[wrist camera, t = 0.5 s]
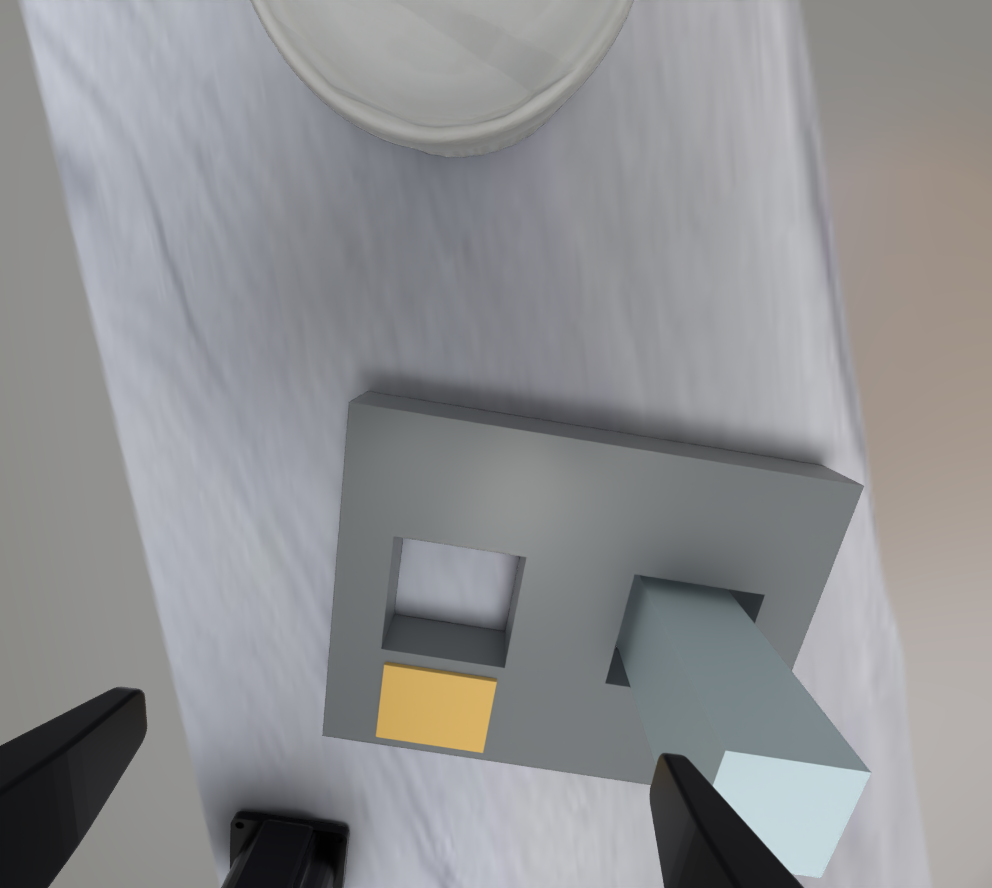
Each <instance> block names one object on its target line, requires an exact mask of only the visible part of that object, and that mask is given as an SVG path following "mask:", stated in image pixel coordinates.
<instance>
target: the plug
mask: <svg viewBox="0 0 992 888" xmlns="http://www.w3.org/2000/svg"><path fill="white" fill-rule="evenodd" d="M616 643H617V646H618V650H619V653H620V656H621V659H622V662H623V665H624V668H625V671H626V674H627V677H628V680H629V684H630V687H631V690H632V693H633V696H634V699H635V702H636V705H637V708H638V711H639V714H640V718H641V721H642V724H643V727H644V730H645V733H646V736H647V739H648V742H649V745H650V748H651V752H652V755H653V758H654V761H655V764H656V765H657V761H658V758H659V756H660V755H661V754H662V753H672V754H680V755H684V756H685V757H687V758H688V759H689V760H690V761H691V762H692V763H693V765H694V766H695V767H696V768H697V769H698V770H699V771H700V772H701V773H702V775H703V776H704V777H705V778H706V779H707V780H708V781H709V782H710V783H711V785H712V786H713V787H714V788H715V789H716V790H717V791H718V792H719V794H720V795H721V796H722V797H723V798H724V799H725V800H726V801H727V802H728V804H729V805H730V806H731V807H732V808H733V809H734V810H735V811H736V812H737V814H738V815H739V816H740V817H741V818H742V819H743V820H744V821H745V822H746V824H747V825H748V826H749V827H750V828H751V829H752V830H753V831H754V833H755V834H756V835H757V836H758V837H759V838H760V839H761V840H762V841H763V843H764V844H765V845H766V846H767V847H768V848H769V849H770V850H771V851H772V853H773V854H774V855H775V856H776V857H777V858H778V859H779V860H780V861H781V863H782V864H783V865H784V866H785V867H786V868H787V869H788V870H789V872H790V873H791V874H796V875H803V876H810V877H816V878H821V876H822V874H823V872H824V870H825V868H826V866H827V864H828V862H829V860H830V858H831V856H832V853H833V851H834V849H835V847H836V845H837V843H838V841H839V839H840V837H841V835H842V833H843V830H844V828H845V826H846V824H847V822H848V820H849V818H850V816H851V814H852V812H853V810H854V807H855V805H856V803H857V801H858V799H859V797H860V795H861V793H862V791H863V789H864V786H865V784H866V782H867V780H868V778H869V776H870V774H871V772H870V770H869V769H868V768H867V767H866V765H865V764H864V763H863V762H862V760H861V759H860V758H859V756H858V755H857V754H856V753H855V751H854V750H853V749H852V748H851V746H850V745H849V744H848V742H847V741H846V740H845V739H844V737H843V736H842V735H841V733H840V732H839V731H838V730H837V728H836V727H835V726H834V725H833V723H832V722H831V721H830V719H829V718H828V717H827V716H826V714H825V713H824V712H823V710H822V709H821V708H820V707H819V705H818V704H817V703H816V702H815V700H814V699H813V698H812V696H811V695H810V694H809V693H808V691H807V690H806V689H805V688H804V686H803V685H802V684H801V682H800V681H799V680H798V679H797V677H796V676H795V675H794V673H793V672H792V671H791V670H790V668H789V667H788V666H787V665H786V663H785V662H784V661H783V659H782V658H781V657H780V656H779V654H778V653H777V652H776V650H775V649H774V648H773V647H772V645H771V644H770V643H769V642H768V640H767V639H766V638H765V636H764V635H763V634H762V633H761V631H760V630H759V629H758V627H757V626H756V625H755V624H754V622H753V621H752V620H751V619H750V617H749V616H748V615H747V613H746V612H745V611H744V610H743V608H742V607H741V606H740V605H739V603H738V602H737V601H736V599H735V598H734V597H733V596H732V594H731V593H730V592H729V590H728V589H724V588H718V587H712V586H705V585H699V584H693V583H686V582H680V581H674V580H667V579H661V578H655V577H648V576H642V575H636V574H634V578H633V582H632V585H631V589H630V593H629V597H628V600H627V604H626V608H625V611H624V615H623V619H622V623H621V626H620V630H619V634H618V638H617V641H616Z"/></svg>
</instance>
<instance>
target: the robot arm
mask: <svg viewBox="0 0 992 888" xmlns="http://www.w3.org/2000/svg"><path fill="white" fill-rule="evenodd" d="M146 731H147V717H146V704H145V694H144V692H143V691H142V690H140V689H136V688H128V687H116V688H113V689H111V690H109V691H107V692H105V693H103V694H101V695H99V696H97V697H95V698H93V699H91V700H89V701H87V702H85V703H83V704H81V705H79V706H77V707H76V708H74V709H71V710H70V711H68V712H66V713H64V714H62V715H60V716H58V717H56V718H54V719H52V720H50V721H48V722H46V723H44V724H42V725H40V726H38V727H36V728H34V729H33V730H30V731H28V732H26V733H24V734H22V735H20V736H18V737H17V738H15V739H13V740H11V741H9V742H7V743H5V744H3V745H1V746H0V888H48V887H49V886H50V884H51V883H52V882H53V880H54V879H55V877H56V876H57V875H58V873H59V872H60V871H61V869H62V868H63V866H64V865H65V864H66V862H67V861H68V860H69V858H70V857H71V855H72V854H73V852H74V851H75V850H76V848H77V847H78V845H79V844H80V842H81V841H82V839H83V838H84V836H85V835H86V833H87V831H88V830H89V828H90V827H91V825H92V824H93V822H94V820H95V819H96V817H97V815H98V814H99V812H100V811H101V809H102V807H103V806H104V804H105V802H106V801H107V799H108V798H109V796H110V794H111V793H112V791H113V789H114V788H115V786H116V785H117V783H118V781H119V780H120V778H121V776H122V775H123V773H124V772H125V770H126V768H127V767H128V765H129V763H130V762H131V760H132V759H133V757H134V755H135V754H136V752H137V750H138V749H139V747H140V746H141V744H142V742H143V740H144V738H145V734H146ZM650 806H651V812H652V818H653V824H654V830H655V836H656V841H657V847H658V853H659V859H660V865H661V871H662V877H663V883H664V888H804V887H803V886H802V885H801V884H800V883H799V882H798V880H797V879H796V878H795V877H794V876H793V875H792V874H791V873H790V872H789V870H788V869H787V868H786V867H785V866H784V865H783V864H782V863H781V861H780V860H779V859H778V858H777V857H776V856H775V855H774V854H773V853H772V851H771V850H770V849H769V848H768V847H767V846H766V845H765V844H764V843H763V841H762V840H761V839H760V838H759V837H758V836H757V835H756V834H755V833H754V831H753V830H752V829H751V828H750V827H749V826H748V825H747V824H746V822H745V821H744V820H743V819H742V818H741V817H740V816H739V815H738V814H737V812H736V811H735V810H734V809H733V808H732V807H731V806H730V805H729V804H728V802H727V801H726V800H725V799H724V798H723V797H722V796H721V795H720V794H719V792H718V791H717V790H716V789H715V788H714V787H713V786H712V785H711V783H710V782H709V781H708V780H707V779H706V778H705V777H704V776H703V775H702V773H701V772H700V771H699V770H698V769H697V768H696V767H695V766H694V765H693V763H692V762H691V761H690V760H689V759H688V758H687V757H685V756H684V755H680V754H672V753H662V754H661V755H660V756H659V758H658V761H657V765H656V768H655V772H654V776H653V779H652V783H651V787H650ZM348 843H349V830H348V829H347V828H346V827H344V826H339V825H332V824H326V823H319V822H312V821H305V820H298V819H292V818H285V817H278V816H271V815H264V814H257V813H251V812H244V811H240V812H237V813H236V814H235V816H234V818H233V820H232V822H231V838H230V871H229V873H228V875H227V877H226V879H225V881H224V883H223V885H222V887H221V888H344V880H345V871H346V861H347V852H348Z"/></svg>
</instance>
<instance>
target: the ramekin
mask: <svg viewBox="0 0 992 888" xmlns="http://www.w3.org/2000/svg"><path fill="white" fill-rule="evenodd" d="M250 1H251V3H252V5H253V7H254V9H255V11H256V13H257V15H258V17H259V19H260V21H261V23H262V25H263V27H264V28H265V30H266V32H267V34H268V35H269V37H270V39H271V40H272V42H273V43H274V45H275V46H276V48H277V49H278V51H279V52H280V54H281V55H282V56H283V58H284V59H285V60H286V62H287V63H288V64H289V66H290V67H291V68H292V70H293V71H294V72H295V73H296V75H297V76H298V77H299V78H300V79H301V80H302V81H303V82H304V83H305V85H306V86H307V87H308V88H309V89H310V90H311V91H312V92H313V93H314V94H316V95H317V96H318V97H319V98H320V99H321V100H322V101H323V102H324V103H325V104H326V105H328V106H329V107H330V108H331V109H333V110H334V111H335V112H336V113H338V114H339V115H340V116H342V117H343V118H344V119H346V120H348V121H349V122H351V123H352V124H354V125H355V126H357V127H359V128H361V129H362V130H364V131H366V132H368V133H370V134H372V135H374V136H376V137H378V138H381V139H383V140H385V141H388V142H391V143H394V144H397V145H401V146H405V147H409V148H413V149H416V150H422V151H423V152H425V153H427V154H431V155H441V156H444V157H463V158H464V157H469V156H472V155H484V154H487V153H490V152H494V151H500V150H502V149H504V148H506V147H509V146H513V145H515V144H517V143H518V142H519V141H520V140H522V139H523V138H526V137H528V136H530V135H532V134H533V133H534V132H535V131H536V130H537V129H538V128H539V127H540V126H542V125H544V124H545V123H546V122H547V121H548V120H549V119H550V117H551V116H552V115H553V114H554V113H555V112H556V111H557V110H559V109H560V107H561V106H562V105H563V103H565V102H566V101H567V100H568V99H569V98H570V97H571V96H572V95H573V94H574V93H575V92H576V91H577V90H578V89H579V88H580V87H581V86H582V85H583V84H584V82H585V81H586V80H587V79H588V78H589V76H590V75H591V74H592V73H593V71H594V70H595V69H596V68H597V66H598V65H599V64H600V62H601V61H602V60H603V58H604V57H605V55H606V54H607V52H608V50H609V49H610V47H611V46H612V44H613V43H614V41H615V39H616V37H617V36H618V34H619V32H620V30H621V28H622V26H623V24H624V22H625V20H626V18H627V16H628V14H629V11H630V9H631V7H632V4H633V2H634V0H250Z"/></svg>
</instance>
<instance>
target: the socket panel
mask: <svg viewBox="0 0 992 888" xmlns="http://www.w3.org/2000/svg"><path fill="white" fill-rule="evenodd" d="M863 487H864V486H863V485H861V484H859V483H857V482H855V481H853V480H851V479H849V478H847V477H845V476H843V475H841V474H839V473H837V472H835V471H833V470H831V469H829V468H827V467H825V466H822V465H816V464H810V463H804V462H798V461H792V460H785V459H779V458H773V457H767V456H761V455H755V454H749V453H742V452H736V451H730V450H724V449H718V448H712V447H706V446H700V445H693V444H687V443H681V442H675V441H669V440H663V439H657V438H651V437H644V436H638V435H632V434H626V433H620V432H614V431H608V430H601V429H595V428H589V427H583V426H577V425H571V424H565V423H559V422H552V421H546V420H540V419H534V418H528V417H522V416H516V415H510V414H503V413H497V412H491V411H485V410H479V409H473V408H467V407H460V406H454V405H448V404H442V403H436V402H430V401H424V400H418V399H411V398H405V397H399V396H393V395H387V394H381V393H375V392H369V391H367V392H366V393H364V394H362V395H360V396H359V397H357V398H355V399H353V400H352V401H350V402H349V408H348V421H347V433H346V446H345V458H344V471H343V484H342V496H341V509H340V522H339V534H338V547H337V559H336V572H335V585H334V597H333V610H332V623H331V635H330V648H329V660H328V673H327V686H326V698H325V711H324V724H323V736H327V737H334V738H341V739H347V740H354V741H361V742H367V743H374V744H381V745H387V746H394V747H401V748H407V749H414V750H421V751H427V752H434V753H441V754H447V755H454V756H461V757H467V758H474V759H481V760H487V761H494V762H501V763H507V764H514V765H521V766H527V767H534V768H541V769H547V770H554V771H561V772H567V773H574V774H581V775H587V776H594V777H601V778H607V779H614V780H621V781H627V782H634V783H641V784H647V785H651V783H652V779H653V776H654V772H655V768H656V764H655V761H654V758H653V755H652V752H651V748H650V745H649V742H648V739H647V736H646V733H645V730H644V727H643V724H642V721H641V718H640V714H639V711H638V708H637V705H636V702H635V699H634V696H633V693H632V690H631V687H630V684H629V680H628V677H627V674H626V671H625V668H624V665H623V662H622V659H621V656H620V653H619V650H618V649H615V645H616V641H617V638H618V634H619V630H620V626H621V623H622V619H623V615H624V611H625V608H626V604H627V600H628V597H629V593H630V589H631V585H632V582H633V578H634V574H636V575H642V576H648V577H655V578H661V579H667V580H674V581H680V582H686V583H693V584H699V585H705V586H712V587H718V588H724V589H729V592H730V593H731V594H732V596H733V597H734V598H735V599H736V601H737V602H738V603H739V605H740V606H741V607H742V608H743V610H744V611H745V612H746V613H747V615H748V616H749V617H750V619H751V620H752V621H753V622H754V624H755V625H756V626H757V627H758V629H759V630H760V631H761V633H762V634H763V635H764V636H765V638H766V639H767V640H768V642H769V643H770V644H771V645H772V647H773V648H774V649H775V650H776V652H777V653H778V654H779V656H780V657H781V658H782V659H783V661H784V662H785V663H786V665H787V666H788V667H789V668H790V670H791V671H792V669H793V666H794V663H795V661H796V658H797V656H798V653H799V651H800V648H801V646H802V643H803V640H804V638H805V635H806V633H807V630H808V628H809V625H810V623H811V620H812V617H813V615H814V612H815V610H816V607H817V605H818V602H819V600H820V597H821V594H822V592H823V589H824V587H825V584H826V582H827V579H828V577H829V574H830V572H831V569H832V566H833V564H834V561H835V559H836V556H837V554H838V551H839V549H840V546H841V543H842V541H843V538H844V536H845V533H846V531H847V528H848V526H849V523H850V520H851V518H852V515H853V513H854V510H855V508H856V505H857V503H858V500H859V498H860V495H861V492H862V490H863ZM403 538H408V539H414V540H420V541H427V542H433V543H439V544H446V545H452V546H458V547H465V548H471V549H477V550H484V551H490V552H496V553H503V554H509V555H515V556H520V558H519V563H518V568H517V573H516V578H515V584H514V589H513V594H512V599H511V604H510V609H509V615H508V620H507V625H506V630H505V632H504V631H498V630H491V629H485V628H478V627H472V626H466V625H459V624H453V623H446V622H440V621H433V620H427V619H420V618H414V617H407V616H401V615H395V614H394V611H395V602H396V594H397V585H398V577H399V569H400V560H401V552H402V544H403Z"/></svg>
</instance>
